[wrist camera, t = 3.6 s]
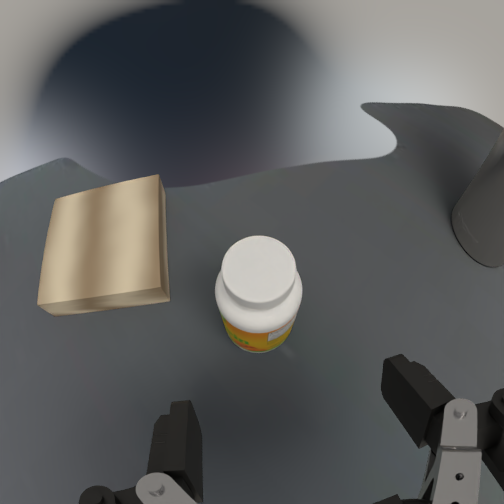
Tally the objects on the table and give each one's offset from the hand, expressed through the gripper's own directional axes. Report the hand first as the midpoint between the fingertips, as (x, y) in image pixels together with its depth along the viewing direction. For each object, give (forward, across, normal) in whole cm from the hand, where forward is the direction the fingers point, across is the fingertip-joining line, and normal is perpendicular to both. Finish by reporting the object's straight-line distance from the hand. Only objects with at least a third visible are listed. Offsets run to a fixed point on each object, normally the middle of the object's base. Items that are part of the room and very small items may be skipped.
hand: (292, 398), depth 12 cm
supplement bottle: (+13, 0, +3) cm, 14 cm away
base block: (+20, +13, -3) cm, 24 cm away
